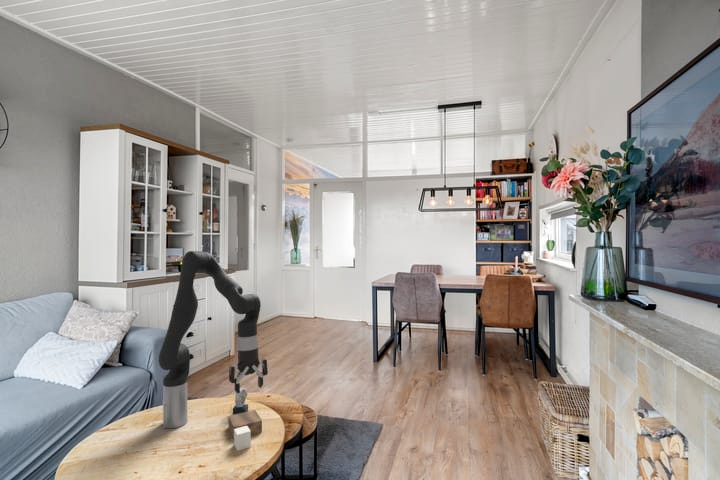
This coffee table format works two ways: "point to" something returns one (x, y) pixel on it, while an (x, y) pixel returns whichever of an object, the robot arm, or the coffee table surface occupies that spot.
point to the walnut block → (246, 422)
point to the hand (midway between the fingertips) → (249, 389)
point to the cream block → (242, 438)
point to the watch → (240, 402)
